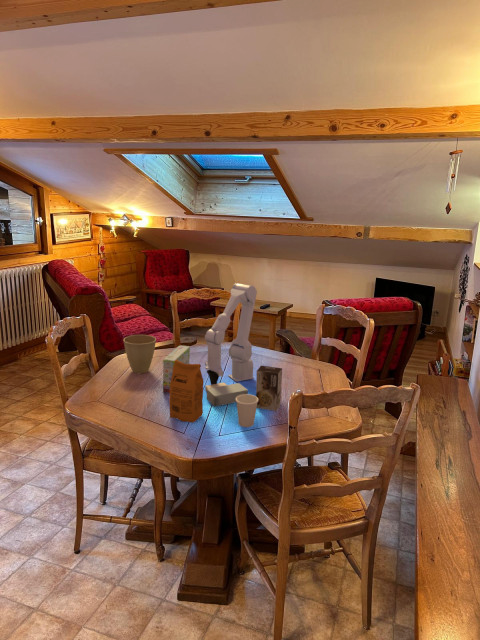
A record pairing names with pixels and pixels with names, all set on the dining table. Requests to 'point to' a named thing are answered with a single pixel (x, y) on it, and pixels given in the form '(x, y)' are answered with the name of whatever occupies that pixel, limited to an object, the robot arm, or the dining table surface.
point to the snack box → (178, 354)
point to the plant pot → (140, 352)
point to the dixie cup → (246, 409)
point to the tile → (214, 385)
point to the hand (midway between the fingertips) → (213, 385)
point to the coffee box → (268, 387)
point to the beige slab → (225, 394)
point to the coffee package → (186, 392)
